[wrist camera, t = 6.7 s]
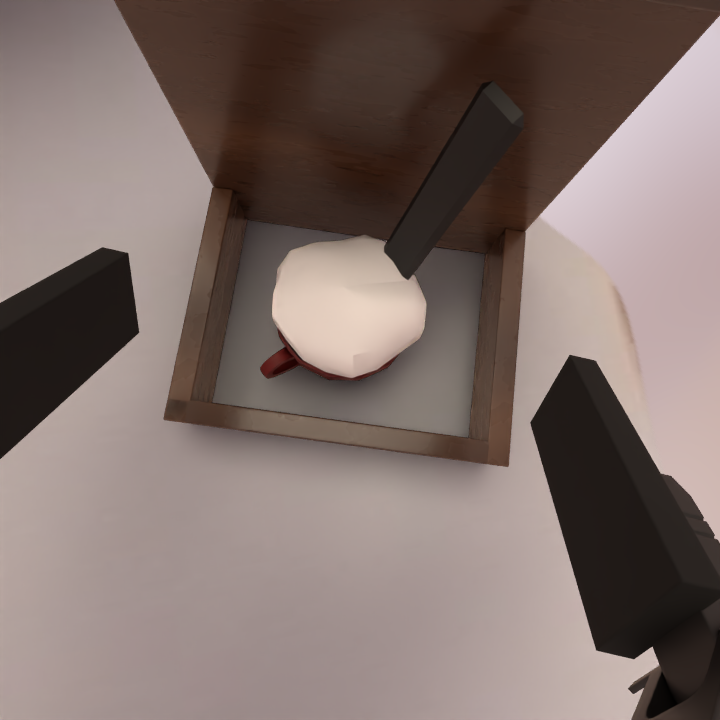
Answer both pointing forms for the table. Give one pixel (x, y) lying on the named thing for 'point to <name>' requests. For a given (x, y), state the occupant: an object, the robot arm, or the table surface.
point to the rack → (390, 150)
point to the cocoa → (384, 261)
